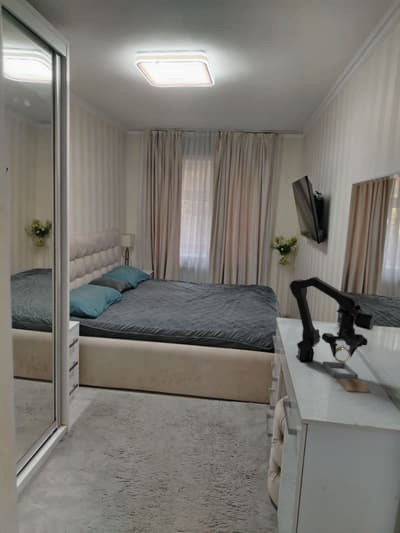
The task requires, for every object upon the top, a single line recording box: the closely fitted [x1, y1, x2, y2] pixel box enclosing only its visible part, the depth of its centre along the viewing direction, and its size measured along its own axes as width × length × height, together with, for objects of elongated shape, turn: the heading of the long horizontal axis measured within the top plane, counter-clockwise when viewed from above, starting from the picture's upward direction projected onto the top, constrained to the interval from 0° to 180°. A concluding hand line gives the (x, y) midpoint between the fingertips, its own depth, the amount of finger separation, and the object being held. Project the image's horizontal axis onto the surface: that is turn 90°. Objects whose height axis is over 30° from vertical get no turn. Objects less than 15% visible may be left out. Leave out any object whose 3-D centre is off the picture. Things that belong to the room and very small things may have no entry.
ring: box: [334, 344, 351, 363], centre depth 165 cm, size 7×3×8 cm, turn 74°
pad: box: [335, 378, 372, 394], centre depth 153 cm, size 10×10×1 cm
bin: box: [322, 361, 359, 380], centre depth 166 cm, size 11×13×2 cm
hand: (341, 357), depth 165 cm, fingers closed on ring, 7 cm apart
